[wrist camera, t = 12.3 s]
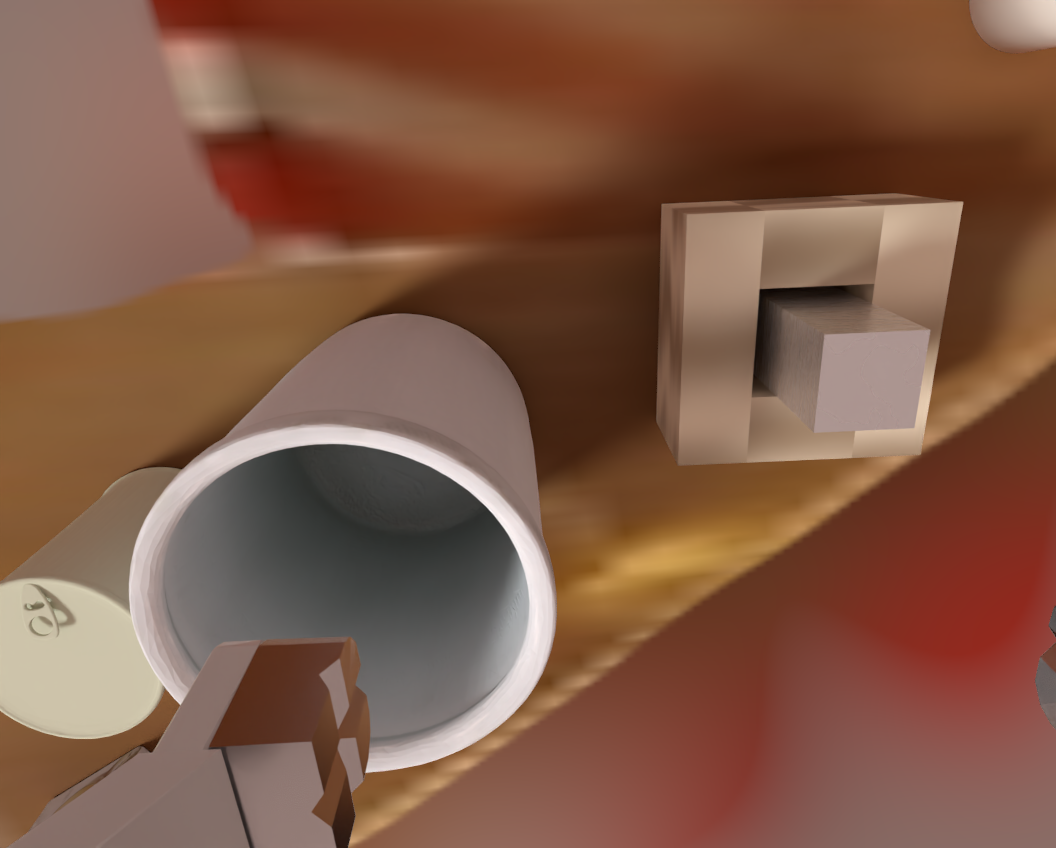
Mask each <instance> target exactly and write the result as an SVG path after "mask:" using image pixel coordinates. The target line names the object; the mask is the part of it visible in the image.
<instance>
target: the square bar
mask: <svg viewBox="0 0 1056 848" xmlns="http://www.w3.org/2000/svg"><path fill="white" fill-rule="evenodd" d="M929 336H930V329H928V328H925V327H923V326H921V325H919V324H916V323H914V322H912V321H910V320H908V319H905V318H903V317H901V316H899V315H896V314H894V313H892V312H890V311H888V310H885V309H883V308H881V307H879V306H876V305H874V304H872V303H870V302H867V301H865V300H863V299H861V298H859V297H856V296H854V295H852V294H850V293H847V292H845V291H843V290H841V289H839V288H836V287H834V286H815V287H793V288H771V289H759V303H758V316H757V330H756V343H755V357H754V370H753V374H754V375H755V376H756V377H757V378H758V379H759V380H760V381H761V382H762V383H763V384H764V385H765V386H766V387H767V388H768V389H769V390H770V391H771V392H773V393H774V394H775V395H776V396H777V397H778V398H779V399H780V400H781V401H782V402H783V403H784V404H785V405H786V406H787V407H788V408H789V409H790V410H791V411H792V412H793V413H794V414H795V415H796V416H797V417H798V418H799V419H800V420H801V421H802V422H803V423H804V424H805V425H806V426H807V427H808V428H809V429H810V430H811V431H813V432H814V433H819V432H842V431H864V430H887V429H909V428H915V422H916V416H917V410H918V404H919V397H920V391H921V385H922V379H923V373H924V367H925V361H926V355H927V348H928V342H929Z"/></svg>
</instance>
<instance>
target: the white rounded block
mask: <svg viewBox="0 0 1056 848" xmlns="http://www.w3.org/2000/svg"><path fill="white" fill-rule="evenodd" d="M969 8H970V15H971V19H972V22H973V25H974V27H975V29H976V31H977V33H978V34H979V36H980V37H981V38H982V39H983V40H984V41H985V42H986V43H987V44H988V45H989V46H991V47H993V48H994V49H996V50H999V51H1002V52H1006V53H1026V52H1032V51H1037V50H1043V49H1048V48H1054V47H1056V0H969Z"/></svg>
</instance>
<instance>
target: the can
mask: <svg viewBox="0 0 1056 848" xmlns="http://www.w3.org/2000/svg"><path fill="white" fill-rule="evenodd" d="M181 470H182V469H178V468H170V467H152V468H145V469H140V470H137V471H134V472H131V473H129V474H127V475H125V476H123V477H121V478H120V479H118V480H117V481H115V482H114V483H113V484H112V485H111V486H110V487H109V488H108V489H107V490H106V491H105V493H104V494H103V495H102V497H101V498H100V499H99V500H98V501H96V502H95V503H94V504H93V505H92V506H91V507H90V508H88V509H87V510H86V511H85V512H84V513H83V514H81V515H80V516H79V517H78V518H77V519H76V520H74V521H73V522H72V523H71V524H70V525H69V526H67V527H66V528H65V529H64V530H63V531H61V532H60V533H59V534H58V535H57V536H56V537H54V538H53V539H52V540H51V541H50V542H49V543H47V544H46V545H45V546H44V547H42V548H41V549H40V550H39V551H38V552H36V553H35V554H34V555H33V556H32V557H30V558H29V559H28V560H27V561H26V562H24V563H23V564H22V565H21V566H19V567H18V568H17V569H16V570H15V571H13V572H12V573H11V574H10V575H9V576H7V577H6V578H5V579H4V580H2V581H1V582H0V711H2V712H3V713H4V714H6V715H7V716H9V717H10V718H12V719H14V720H16V721H17V722H19V723H21V724H23V725H25V726H28V727H30V728H32V729H35V730H38V731H41V732H43V733H47V734H51V735H55V736H59V737H66V738H75V739H94V738H101V737H107V736H112V735H115V734H118V733H121V732H124V731H126V730H128V729H130V728H132V727H134V726H136V725H137V724H139V723H140V722H142V721H143V720H144V719H145V718H146V717H148V716H149V715H150V714H151V713H152V711H153V710H154V709H155V708H156V706H157V705H158V703H159V701H160V700H161V698H162V695H163V693H164V691H165V689H166V688H165V687H164V685H163V684H162V683H161V681H160V680H159V679H158V677H157V676H156V674H155V673H154V671H153V669H152V667H151V666H150V664H149V662H148V661H147V659H146V657H145V655H144V653H143V651H142V648H141V646H140V644H139V641H138V639H137V636H136V633H135V630H134V626H133V622H132V618H131V613H130V602H129V576H130V566H131V561H132V556H133V551H134V547H135V544H136V540H137V538H138V535H139V532H140V530H141V528H142V526H143V523H144V521H145V519H146V517H147V516H148V514H149V512H150V510H151V509H152V507H153V505H154V504H155V502H156V501H157V499H158V498H159V497H160V495H161V494H162V493H163V491H164V490H165V489H166V487H167V486H168V485H169V484H170V483H171V481H172V480H173V479H174V478H175V477H176V476H177V475H178V473H179V472H180V471H181Z"/></svg>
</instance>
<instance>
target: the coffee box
mask: <svg viewBox="0 0 1056 848" xmlns="http://www.w3.org/2000/svg"><path fill="white" fill-rule="evenodd" d="M139 753H150V752H149V751H148V750H147V749H145V748H144V747H142V746H139V747H137V748H135V749H133V750H132V751H130V752H128V753H127V754H125V755H124V756H122V757H120V758H119V759H117V760H115V761H114V762H112V763H111V764H109V765H107V766H106V767H104V768H103V769H101V770H99V771H98V772H96V773H94V774H93V775H91V776H90V777H88V778H86V779H85V780H83V781H82V782H80V783H78V784H77V785H75V786H73V787H72V788H70V789H68V790H67V791H65V792H64V793H62V794H60V795H59V796H57V797H55V798H54V799H52V800H51V801H50V802H49V803H48V804H47V805H46V807H45V809H44V810H43V811H42V813H41V814H40V816H39V817H38V819H37V820H36V822H35V823H34V824H33V826H32V827H31V829H30V830H29V831H31V830H32V829H34V828H35V827H36V826H38V825H39V824H41V823H42V822H43V821H45V820H46V819H48V818H49V817H50V816H52V815H53V814H55V813H56V812H57V811H59V810H60V809H62V808H63V807H64V806H66V805H67V804H69V803H70V802H71V801H73V800H74V799H76V798H77V797H78V796H80V795H81V794H83V793H84V792H85V791H87V790H88V789H90V788H91V787H92V786H94V785H95V784H97V783H98V782H99V781H101V780H102V779H104V778H105V777H106V776H108V775H109V774H111V773H112V772H113V771H115V770H116V769H118V768H119V767H120V766H122V765H123V764H125V763H126V762H127V761H129V760H130V759H132V758H133V757H134V756H136V755H137V754H139ZM29 831H28V832H29Z"/></svg>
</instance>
